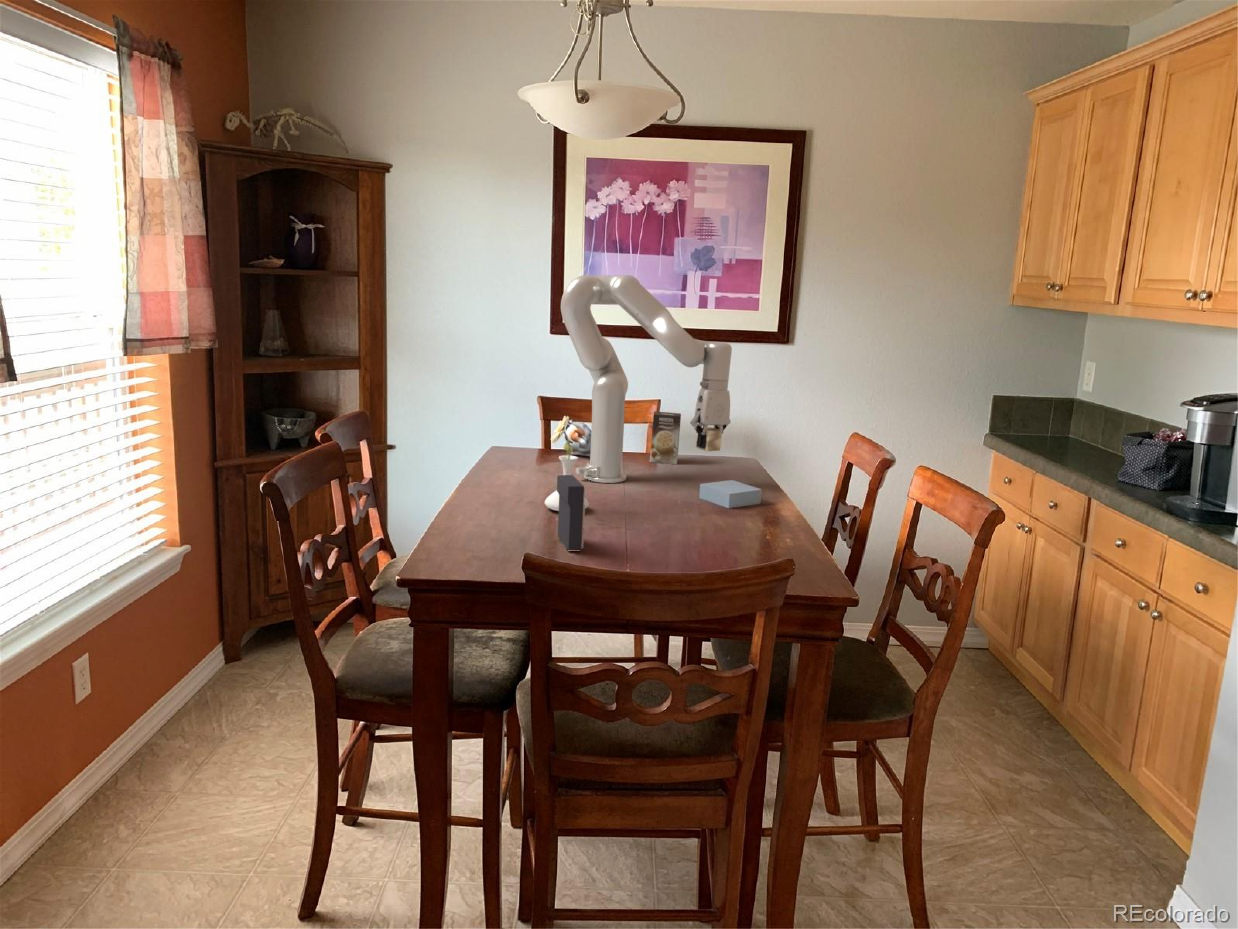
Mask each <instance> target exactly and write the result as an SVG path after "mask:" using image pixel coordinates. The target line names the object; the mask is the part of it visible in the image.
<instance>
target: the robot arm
mask: <svg viewBox="0 0 1238 929" xmlns="http://www.w3.org/2000/svg"><path fill="white" fill-rule="evenodd" d="M592 305H618V306H620V308H621V309H623V310H624V311H625V312H626V313H627V314H628V315H629V316H631V317H632V318H633V320H635V321H636V323H638V325H640V326H641V327H642V328H643V329H644V330H645V331H646V332H647V333H648V334H649V335H650V336H651V337H652V338H654V339H655V340H656V342H658V343H659V344H660V345H661V347H663V348H664V349H665V350H666V351H667V352H668V353H669V354H670V355H672V356H673V357H674V359H676V361H678V362H679V363H680V364H681V365H682V366H684V367H687V368H695V367H696V368H697V367H698V366H700V365H703V369H702V379H701V381H700V383H699V386H701V388H700V389H699V392H698V394H697V395H698V396H697V398H696V404H695V410H694V416H693V418H692V419H691V421H690V425H691V426H692V427H693V429H694V430H695V433H696V434H697V433H698V436H697V435H696V442H697V447H700V448H705V444H706V435H705V432H706V429H707V427H709V426H713V428H716V429H719V430H722V435H723V434H724V432H725V429H726V428H727V427H728V426H729V425H730V424H731V419H730V416H731V415H730V414H731V394H730V390H728V387H729V380H730V379H729V378H730V371H731V370H730V369H731V360H732V359H731V358H732V350H733V347H732V346H731V345H732V344H729V343H727V342H721V341H706V340H700V339H697V338H693V337H692V335H691V334H689V332H687V331H686V330H685V329H684V328H683V327H682V325H680V323H678V322H677V320H676V319H675V317H673V316H672V314H671V312H670V311H669V310H668V308H667V307H666V306H665V305H664V304H662V303H661V302H660V300H658V299H657V298H656V297H655V296H654V295H653V294H651V293H650V291H648V290H647V289H646V288H645V287H644V286H643V285H642V284H641V283H640V281H639V279H637V278H636V276H634V275H630V274H620V275H599V274H598V275H595V274H594V275H593V274H592V275H590V274H589V275H588V274H587V275H586V274H585V275H579V276H577V277H575V278H574V279H573V280H571V281H570V283H569V284H568V285H567V287H566V288H565V289H564V292H563V294H562V296H561V300H560V312H561V317H562V321H563V323H564V325H565V328H566V331H567V332H568V334H569V338H570V340H571V342H572V345H573V347H574V350H575V352H576V354H577V356H578V360H579V361H580V364H581V366H583V367H584V368H585V369H587V370H588V371H589V374H590V375H591V378H592V379H593V382H594V383H593V385H592V389H591V390H592V392H591V428H590V430H591V450H590V456H589V462H587V463H586V465H585V466H584V467H583V466H580V467H576V468H575V474H576V475H582V474H583V478H584V479H586V480H587V479H588V480H587V481H590V480H591V482H595V483H604V484H607V483H608V484H614V483H615V484H616V483H622V482H625V481H626V480H627V475H626V473H624V472H622V470H623V468H622V467H623V451H624V450H623V449H624V435H625V434H624V429H625V410H626V409H625V408H626V407H625V403H626V394H627V392H628V389H629V381H628V378H627V376H626V373H625V371H624V369H623V366H622V364H621V361H620V359H619V358H618V355H617V352H616V351H615V348H614V347H613V346H612V343H611V342H610V341H609V340H608V339H607V338H605V337H603V336H602V334H601V331H600V329H599V327H598V324H597V322H596V320H595V317H594V316H593V314H592V311H591V306H592ZM702 427H703V428H702Z"/></svg>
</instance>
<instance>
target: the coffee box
mask: <svg viewBox="0 0 1238 929" xmlns="http://www.w3.org/2000/svg"><path fill="white" fill-rule="evenodd" d="M652 417H653V418H652V430H651V431H652V432H651V442H650V453H649V454H650V455H649V463H655V464H668V465H677V464H678V458H679V456H678V455H679V446H680V431H681V421H682V420H681V418H682V414H681V413H680V412H679V413H678V412H670V411H669V412H666V411H653V416H652Z"/></svg>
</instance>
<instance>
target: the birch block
mask: <svg viewBox="0 0 1238 929" xmlns="http://www.w3.org/2000/svg"><path fill="white" fill-rule="evenodd" d="M702 428H703V426H702ZM696 434H697V435H696V437H697V436H698V433H696ZM705 435H706V444H705V448H700V447H697V441H696V442H695V443H696V444H695V448H696V449H699V450H701V451H705V452H717V451H718V452H719V451H721V446H722V445H721V444H722V437H723V434H722V430H719V429H716V428H714V427H713V426H712V427H711V426H707V429H706V432H705Z"/></svg>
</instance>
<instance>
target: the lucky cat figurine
mask: <svg viewBox="0 0 1238 929" xmlns="http://www.w3.org/2000/svg"><path fill="white" fill-rule="evenodd" d="M565 433H566V435H567V437H568V439H569V442H570V446H571V447H572V448H573V451H572V452H571V453H570V456H585V457H590V450H591V428H590V427H589V426H588V425H587V424H586V423H584V422H581V421H574V420H573V419H570V420H569V421H568V425H567V427H566V429H565ZM564 441H565V443H566V442H567V438H566V436H565V435H564Z"/></svg>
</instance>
